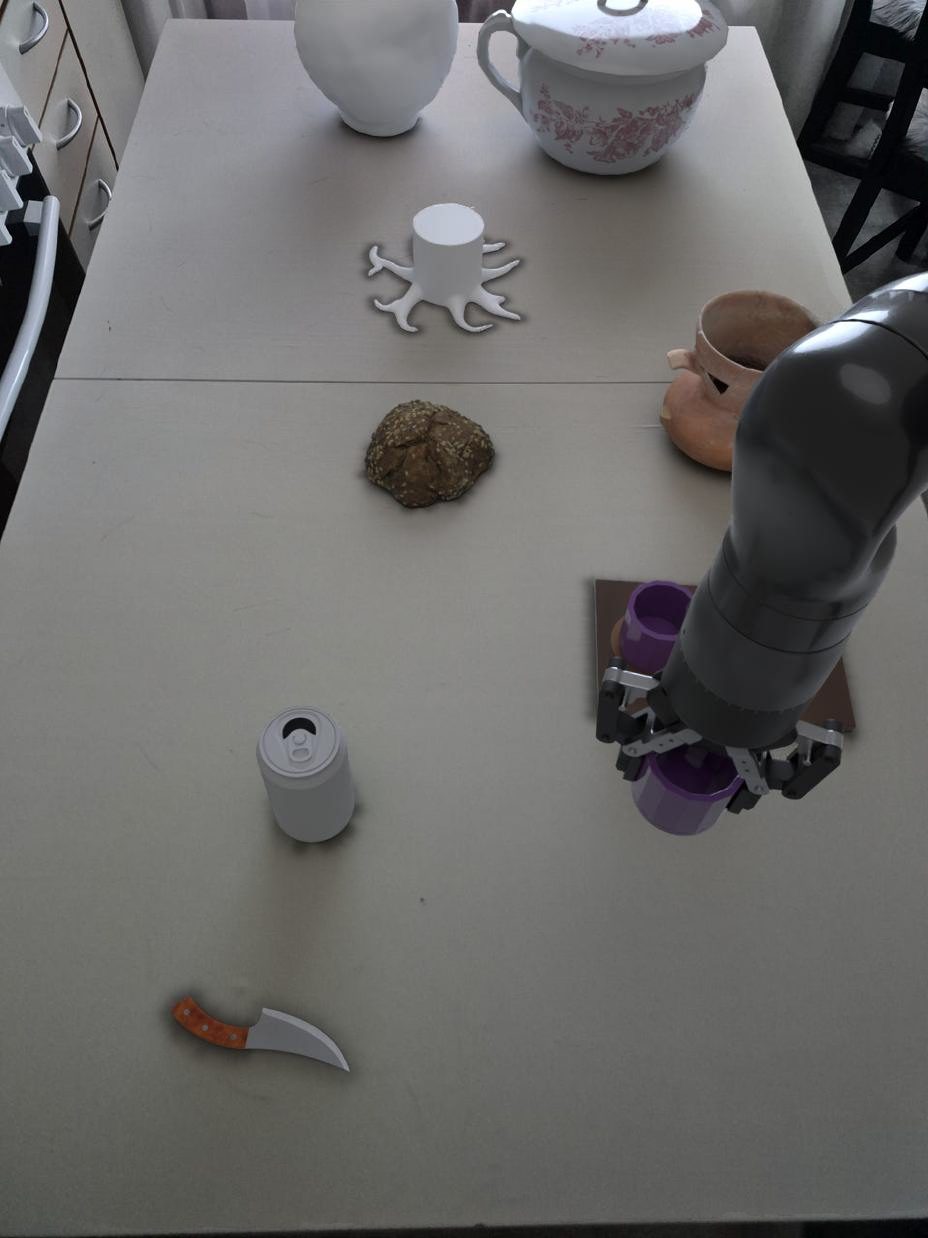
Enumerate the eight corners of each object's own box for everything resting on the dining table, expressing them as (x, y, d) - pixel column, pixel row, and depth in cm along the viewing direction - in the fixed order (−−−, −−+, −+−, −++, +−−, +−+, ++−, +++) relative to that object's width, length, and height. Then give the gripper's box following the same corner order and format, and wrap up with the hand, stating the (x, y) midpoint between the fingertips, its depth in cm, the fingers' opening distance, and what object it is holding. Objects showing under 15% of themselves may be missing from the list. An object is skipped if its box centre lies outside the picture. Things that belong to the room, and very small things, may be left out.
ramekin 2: (743, 816, 63) (768, 781, 58) (658, 850, 61) (676, 816, 57) (696, 737, 66) (716, 697, 61) (613, 767, 64) (628, 729, 60)
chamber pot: (736, 150, 135) (782, -14, 118) (615, 229, 123) (646, 60, 106) (583, 75, 146) (604, -85, 129) (457, 142, 134) (463, -24, 117)
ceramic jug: (658, 488, 98) (690, 381, 87) (635, 390, 106) (661, 280, 95) (829, 485, 99) (884, 379, 88) (794, 388, 108) (839, 279, 96)
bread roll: (406, 403, 104) (406, 367, 100) (507, 446, 101) (510, 411, 97) (339, 477, 98) (336, 442, 94) (445, 526, 94) (445, 492, 90)
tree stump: (536, 246, 121) (543, 186, 114) (514, 347, 110) (519, 286, 103) (380, 225, 122) (378, 164, 116) (343, 322, 111) (338, 261, 105)
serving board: (826, 600, 91) (830, 593, 90) (852, 731, 83) (856, 725, 82) (593, 584, 91) (595, 577, 90) (597, 715, 83) (599, 708, 82)
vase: (277, 123, 135) (244, -137, 110) (381, 68, 145) (373, -182, 120) (374, 174, 129) (363, -89, 104) (477, 113, 138) (488, -141, 114)
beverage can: (350, 766, 79) (340, 693, 70) (359, 840, 76) (349, 774, 66) (272, 777, 79) (251, 705, 69) (277, 852, 75) (255, 787, 65)
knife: (360, 1029, 67) (348, 1075, 66) (360, 1031, 68) (349, 1076, 66) (179, 987, 68) (163, 1031, 67) (180, 989, 69) (165, 1033, 67)
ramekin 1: (700, 662, 85) (715, 627, 81) (636, 682, 84) (648, 649, 79) (667, 607, 88) (680, 572, 84) (605, 626, 87) (615, 591, 83)
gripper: (600, 663, 48) (560, 802, 62) (895, 748, 46) (785, 872, 59) (632, 551, 52) (588, 704, 66) (904, 625, 50) (799, 767, 64)
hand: (682, 784), depth 62 cm, fingers closed on ramekin 2, 6 cm apart
